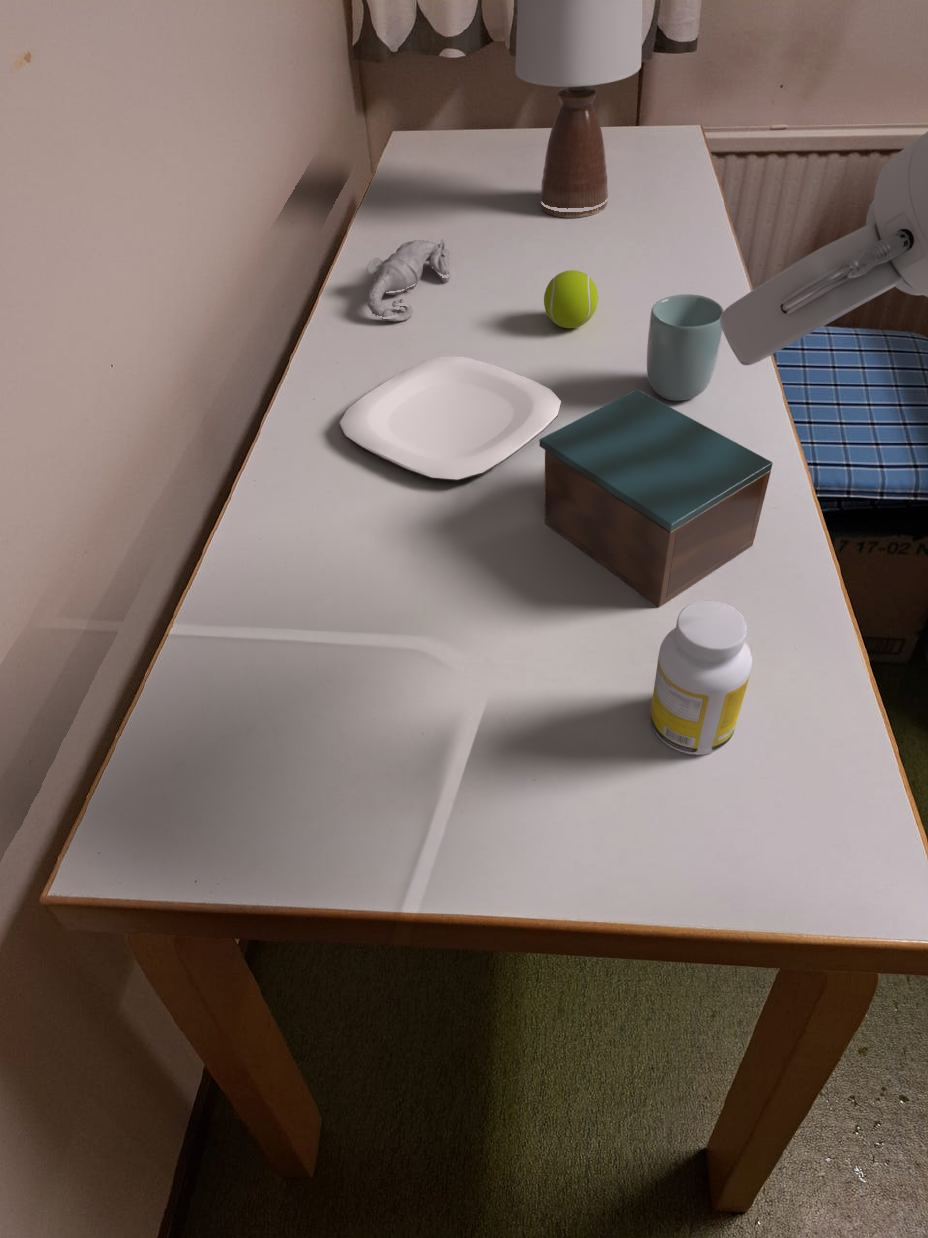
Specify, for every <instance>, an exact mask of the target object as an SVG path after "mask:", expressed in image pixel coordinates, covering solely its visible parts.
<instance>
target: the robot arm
mask: <svg viewBox="0 0 928 1238" xmlns="http://www.w3.org/2000/svg"><path fill="white" fill-rule="evenodd" d="M893 288H896V289H897V290H899V291H901V292H903V293H905V294H909V295H911V296H924V297H927V298H928V130H927V131H926V132H925V133H923V134H922V135H921V136H919V137H918V138H917V139H915V140H914V141H913V142H911V143H909V144H908V145H907V146H906V147H904V148H903V149H901V150H900V151H898V152H897V153H896V154H895V155H893V156H892V157H891V158H890V159H889V160H888V161H887V162H886V163H885V165H884V166H883V167H882V169H881V170H880V173H879V175H878V177H877V180H876V183H875V188H874V196H873V200H872V201H871V203H870V205H869V207H868V211H867V214H866V219H865V225H864V226H862V227H860V228H857V229H856V230H854V231H852V232H850V233H848V234H846V235H844V236H842V237H840V238H838V239H836V240H834V241H832V242H830V243H828V244H826V245H824V246H822V247H820V248H818V249H817V250H814V251H813V252H811V253H809V254H807V255H806V256H804V257H803V258H801V259H799V260H798V261H795V262H794V263H793V264H791V265H789V266H788V267H786V268H784V269H782V270H781V271H780V272H778V273H777V274H776V275H774V276H773V277H771V278H769V279H767V280H766V281H765V282H763V283H762V284H760V285H758V286H757V287H755V288H754V289H753V290H751V291H749V292H748V293H747V294H745V295H743V296H741V297H740V298H739V299H737V300H736V301H735V302H734V301H733V303H732V304H730V305H729V306H727V307H726V308H725V309H723V310H724V311H723V313H722V314H721V316H720V325H721V328H722V333H723V335H724V337H725V339H726V341H727V343H728V345H729V347H730V348H731V350H732V353H733V354H734V356H735V357H736V359H737V361H738V362H739V363H740V364H741V365H743V366H752V365H755V364H757V363H760V362H761V361H763V360H765V359H767V358H769V357H770V356H772V355H773V354H776V353H777V352H779V351H781V350H783V349H785V348H787V347H788V346H790V345H792V344H794V343H796V342H797V341H799V340H801V339H803V338H805V337H806V336H808V335H810V334H812V333H814V332H815V331H817V330H819V329H821V328H823V327H824V326H826V325H828V324H830V323H832V322H833V321H835V320H837V319H839V318H841V317H842V316H845V315H846V314H848V313H850V312H851V311H853V310H855V309H857V308H859V307H860V306H862V305H864V304H866V303H868V302H870V301H872V300H873V299H876V298H877V297H879V296H880V295H882V294H884V293H886V292H888V291H890V290H891V289H893Z"/></svg>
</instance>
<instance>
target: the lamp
mask: <svg viewBox="0 0 928 1238" xmlns="http://www.w3.org/2000/svg"><path fill="white" fill-rule="evenodd" d="M516 14H517V15H516V41H515V67H514V69H515V71H514V73H515V76H516V77H517V78H518V79H519V80H522V81H524V82H527V83H530V84H533V85H539V86H545V87H557V88H558V87H559V88H560V87H561V88H560V89H559V90H557V93H556V97H557V99H558V100H559V103H560V106H559V108H558V110H557V113H556V115H555V119H554V121H553V124H552V127H551V130H550V134H549V137H548V142H547V146H546V152H545V157H544V167H543V172H542V179H541V192H540V198H539V200H540V199H541V201H542V202H543V203H544V204H545V205H548V206H550V207H557V208H567V209H568V208H584V207H594V206H596V205H599V204H601V203H603V202H605V200H606V199H607V198H608V199H609V190H608V174H607V163H606V149H605V143H604V137H603V132H602V127H601V124H600V120H599V117H598V115H597V111H596V109H595V106H594V104H593V103H594V100H595V98H596V96H597V95H598V94H597V93H598V90H597V88H595V87H594V86H597V85H604V84H609V83H613V82H618V81H622V80H624V79H626V78H630V77H632V76H633V75H635V74H637V73H638V72H639V71H640V69H641V68H642V53H643V51H642V50H643V49H642V47H643V46H642V45H643V0H517V13H516ZM539 205H540V207H541V209H542V211H543V212H545V213H546V214H548V215H550V216H554V217H558V218H566V219H573V218H574V219H575V218H585V217H590V216H593V215H596V214H598V213H600V212H602V211H603V210H604V209H606V207H607V206H608V201H607V202H606V203H605V204H604V205H602V206H601V207H598V208H596V209H593V210H589V211H583V212H559V211H554V210H551V209H548V208H546V207H544V206H543V205H542V204H541V202H540V201H539Z"/></svg>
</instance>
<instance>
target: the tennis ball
mask: <svg viewBox="0 0 928 1238" xmlns="http://www.w3.org/2000/svg"><path fill="white" fill-rule="evenodd" d="M598 303H599V294H598V288H597V285H596V283H595V282H594V280H593V279H592V277H590V276H589V275H588V274H586V273H584V272H582V271H580V270H574V269H572V270H565V271H561V272H559V273H558V274H556V275H555V276H554V277H552V278H551V280H549V283H548V284H547V286H546V288H545V291H544V295H543V306H544V310H545V312H546V315H547V317H548V318H549V320H551V321H552V322H553V323H554V324H555V325H556V326H559V327H561V328H563V329H564V328H565V329H575V328H579V327H581V326H583V325H585V324H586V323H587V322H589V321H590V320H591V319H592V317H593V316H594V314H595V312H596V310H597V308H598Z"/></svg>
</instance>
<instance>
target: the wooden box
mask: <svg viewBox="0 0 928 1238" xmlns="http://www.w3.org/2000/svg"><path fill="white" fill-rule="evenodd" d="M771 474H772V469H771V470H770V471H768V472H766V473H765V474H763V475H762V476H760V477H758V478H757V479H755V480H754V481H752V482H750V483H749V484H747V485H745V486H744V487H742V488H741V489H739V490H737V491H736V492H734V493H733V494H731V495H729V496H728V497H726V498H724V499H723V500H721V501H720V502H718V503H716V504H715V505H713V506H711V507H710V508H708V509H707V510H705V511H703V512H702V513H700V514H699V515H697V516H695V517H694V518H692V519H690V520H689V521H687V522H686V523H684V524H682V525H681V526H679V527H678V528H676V529H674V530H673V531H671V532H670V531H668V530H666V529H665V528H663V527H662V526H660V525H659V524H657V523H656V522H654V521H653V520H651V519H650V518H648V517H647V516H645V515H644V514H642V513H641V512H639V511H637V510H636V509H634V508H633V507H631V506H630V505H628V504H627V503H625V502H624V501H622V500H621V499H619V498H618V497H616V496H615V495H613V494H612V493H610V492H608V491H607V490H605V489H604V488H602V487H601V486H599V485H598V484H596V483H595V482H593V481H592V480H590V479H589V478H587V477H586V476H584V475H583V474H581V473H580V472H578V471H576V470H575V469H573V468H572V467H570V466H569V465H567V464H566V463H564V462H563V461H561V460H560V459H558V458H557V457H555V456H554V455H552V454H551V453H549V452H547V451H546V450H544V524H545V525H547V526H548V527H549V528H551V529H552V530H553V531H555V532H556V533H557V534H559V535H560V536H561V537H563V538H564V539H565V540H567V541H569V543H571V544H572V545H574V546H575V547H576V548H577V549H579V550H580V551H582V552H583V553H584V554H586V555H587V556H588V557H590V558H591V559H592V560H594V561H595V562H597V563H598V564H599V565H601V566H602V567H604V568H605V569H606V570H607V571H609V572H610V573H612V574H613V575H614V576H616V577H617V578H618V579H620V580H621V581H622V582H624V583H625V584H627V585H628V586H629V587H630V588H632V589H633V590H635V591H636V592H637V593H638V594H640V595H641V596H643V597H644V598H646V599H647V600H648V601H650V602H651V603H653V605H655V606H657V607H658V608H661V607H662V606H664V605H666V604H667V603H668V602H670V601H671V600H672V599H675V598H676V597H678V596H680V594H682V593H683V592H685V591H687V590H688V589H689V588H691V587H692V586H694V585H695V584H697V583H698V582H700V581H701V580H703V579H704V578H706V577H708V576H709V575H710V574H712V573H714V572H715V571H716V570H718V569H719V568H721V567H723V566H724V565H726V564H727V563H729V562H730V561H732V560H733V559H735V558H736V557H738V556H739V555H741V554H742V553H744V552H745V551H747V550H748V549H750V548H752V547H753V545H754V541H755V538H756V534H757V531H758V526H759V521H760V518H761V515H762V514H761V513H762V510H763V506H764V501H765V497H766V493H767V490H768V485H769V480H770V476H771Z"/></svg>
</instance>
